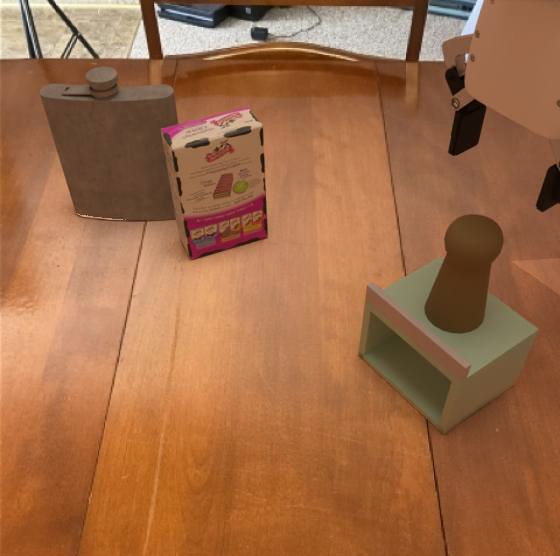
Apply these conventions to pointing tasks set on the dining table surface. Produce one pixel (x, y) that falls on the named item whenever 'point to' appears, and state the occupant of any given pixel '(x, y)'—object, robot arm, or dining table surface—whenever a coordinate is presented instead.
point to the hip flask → (113, 145)
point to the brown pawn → (464, 274)
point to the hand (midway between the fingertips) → (504, 175)
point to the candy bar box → (217, 181)
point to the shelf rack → (441, 350)
